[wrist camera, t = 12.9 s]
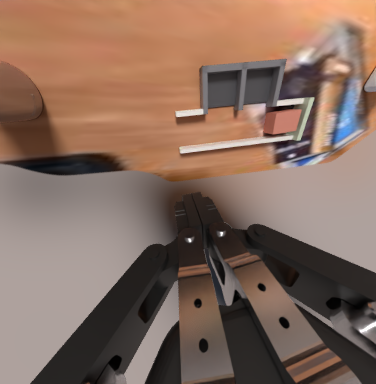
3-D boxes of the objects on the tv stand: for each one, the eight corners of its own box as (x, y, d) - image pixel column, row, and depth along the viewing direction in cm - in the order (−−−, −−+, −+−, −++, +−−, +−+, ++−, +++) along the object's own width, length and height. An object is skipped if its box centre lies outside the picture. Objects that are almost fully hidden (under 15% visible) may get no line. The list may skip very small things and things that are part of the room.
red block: (262, 131, 37) (272, 134, 34) (265, 112, 35) (276, 113, 31) (284, 128, 38) (296, 130, 34) (288, 109, 35) (301, 109, 32)
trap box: (179, 150, 37) (181, 155, 33) (170, 71, 28) (170, 66, 25) (288, 137, 39) (300, 140, 35) (310, 59, 30) (329, 53, 27)
